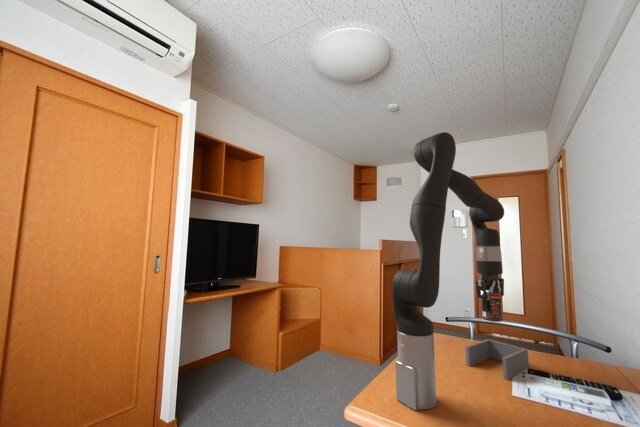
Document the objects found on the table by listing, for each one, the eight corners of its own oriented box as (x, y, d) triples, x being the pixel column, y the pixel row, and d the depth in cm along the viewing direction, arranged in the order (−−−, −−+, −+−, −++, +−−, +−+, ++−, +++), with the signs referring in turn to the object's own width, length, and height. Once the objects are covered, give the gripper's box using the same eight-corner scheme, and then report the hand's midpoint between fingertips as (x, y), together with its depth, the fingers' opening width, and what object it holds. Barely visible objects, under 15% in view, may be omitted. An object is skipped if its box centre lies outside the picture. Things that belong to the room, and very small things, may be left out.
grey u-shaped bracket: (507, 380, 85) (505, 358, 86) (466, 365, 96) (465, 346, 96) (529, 368, 93) (527, 349, 94) (489, 356, 103) (488, 338, 104)
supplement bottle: (484, 321, 93) (482, 286, 95) (480, 317, 99) (478, 283, 100) (505, 322, 92) (503, 286, 93) (499, 318, 97) (497, 284, 99)
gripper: (489, 260, 91) (492, 315, 89) (511, 259, 98) (514, 310, 96) (466, 259, 97) (469, 310, 95) (488, 258, 105) (491, 306, 103)
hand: (491, 310), depth 96 cm, fingers closed on supplement bottle, 6 cm apart
